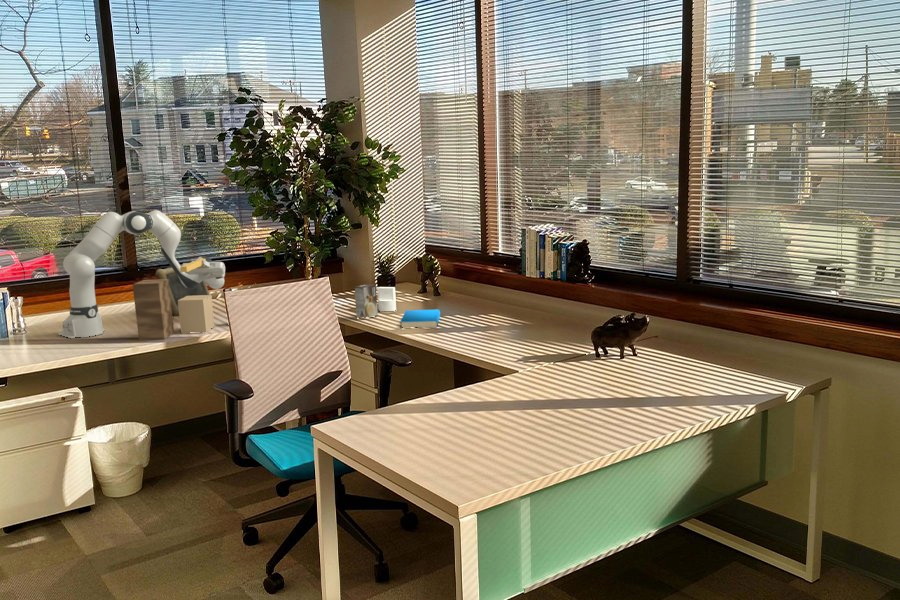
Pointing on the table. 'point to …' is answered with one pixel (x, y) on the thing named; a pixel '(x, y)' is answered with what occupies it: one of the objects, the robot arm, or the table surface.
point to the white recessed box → (386, 298)
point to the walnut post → (153, 309)
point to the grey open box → (179, 288)
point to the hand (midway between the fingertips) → (198, 262)
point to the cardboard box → (196, 313)
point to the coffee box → (366, 300)
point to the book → (421, 318)
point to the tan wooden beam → (191, 265)
